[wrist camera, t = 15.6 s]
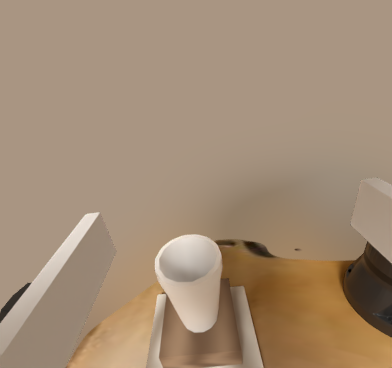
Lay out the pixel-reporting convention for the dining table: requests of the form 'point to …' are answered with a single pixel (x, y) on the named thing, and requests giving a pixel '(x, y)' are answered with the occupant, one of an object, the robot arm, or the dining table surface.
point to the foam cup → (191, 279)
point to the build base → (241, 326)
